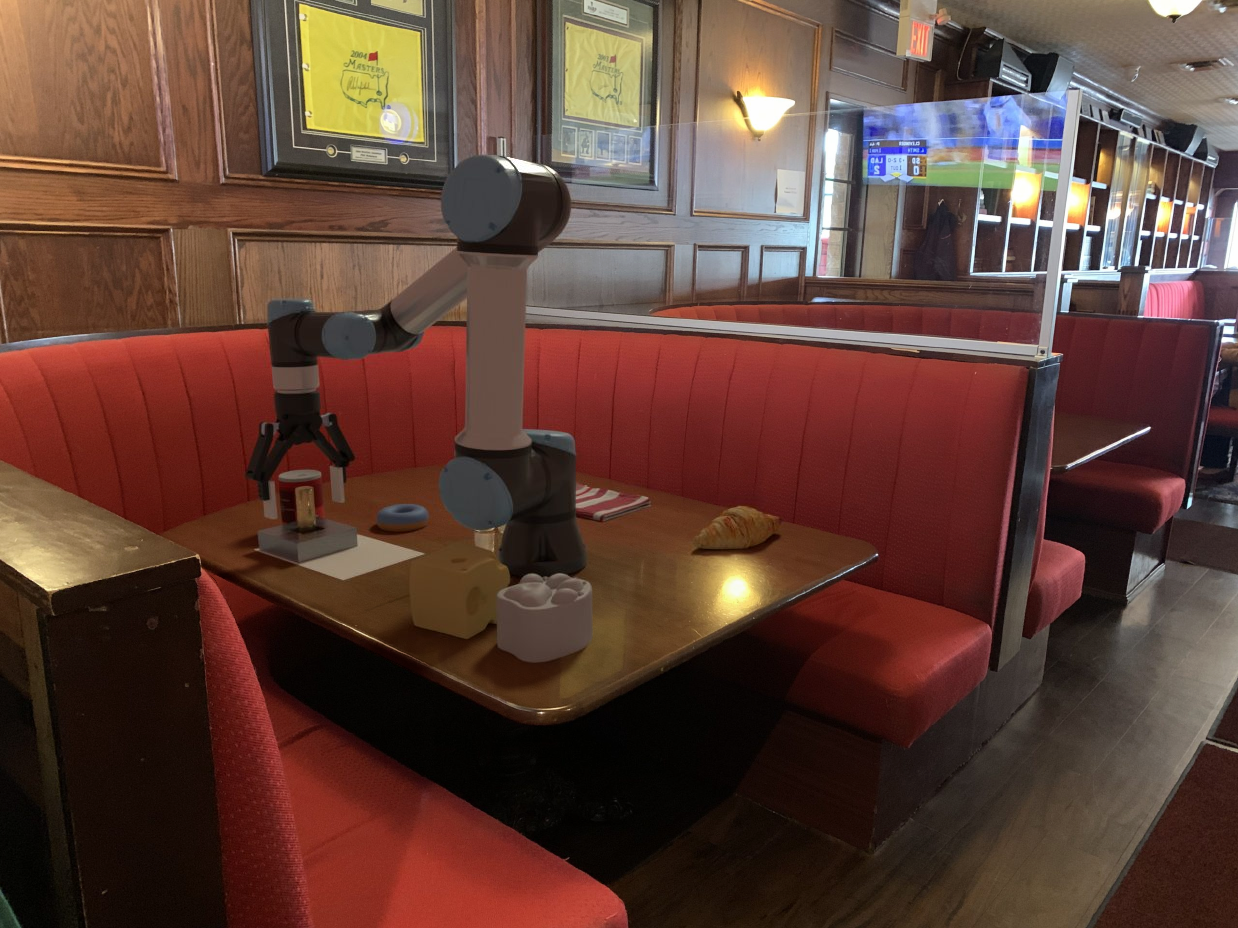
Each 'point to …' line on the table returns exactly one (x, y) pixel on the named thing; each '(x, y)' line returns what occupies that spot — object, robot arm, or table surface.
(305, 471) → the canned food
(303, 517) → the pin
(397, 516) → the doughnut
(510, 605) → the lumpy-topped squat cylinder
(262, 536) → the square hole block
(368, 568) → the mat
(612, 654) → the table surface
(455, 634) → the cheese
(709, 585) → the table surface
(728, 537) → the croissant
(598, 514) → the dish towel
